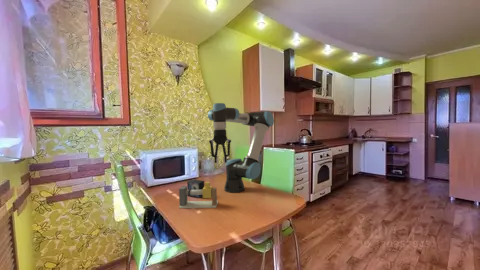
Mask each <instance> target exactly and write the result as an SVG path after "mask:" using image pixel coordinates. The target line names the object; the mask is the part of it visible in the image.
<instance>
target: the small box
mask: <svg viewBox="0 0 480 270" xmlns="http://www.w3.org/2000/svg"><path fill="white" fill-rule="evenodd" d="M186 182H187V183H186V186H187V190H189V189H191V190H203V188H204V186H205V180H199V179H191V180H187V181H186ZM189 197H192V198H197V199H200V198H203V195H191V196H189Z"/></svg>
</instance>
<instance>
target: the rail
mask: <svg viewBox="0 0 480 270" xmlns="http://www.w3.org/2000/svg"><path fill="white" fill-rule="evenodd" d="M217 190H218V189H217V187H212V189H211V195H212V197H211V200H193V201H191V200H190V201H189V200H188V197H190V196H191V195H203V190H191V189H189V190H188V188H187V185H183V186H182V185H181V187H180V188H179V189H178V195H179V205H178V209H216V208H217V206H218V203H219V200H218V196H217V194H218V193H217Z"/></svg>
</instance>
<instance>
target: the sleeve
mask: <svg viewBox="0 0 480 270" xmlns="http://www.w3.org/2000/svg"><path fill="white" fill-rule="evenodd" d="M211 189H213V186H212V185H211V182H210V181H204V188H203V197H202V199H212V195H211Z"/></svg>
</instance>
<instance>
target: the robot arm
mask: <svg viewBox="0 0 480 270" xmlns="http://www.w3.org/2000/svg"><path fill="white" fill-rule="evenodd" d="M212 106H213V107H212V109H210V110H209V111H207V118H208V119H209V121H212V122H213V123H212V124H213V129H214V130H213V138H212V139H210V140H208V142H209V144H210V145H209V146H210V153H211V154H210V155H211V157H213V158H214V163H215V164H216V169H219V165H220V164H219V156H218V153H219V147H220V145H221V148H222V151H223V158H222V161H223V162H222V163H223V165H222V166H223V169H225V171H226V174H225V175H226V181H225V184H224V191H225V192H226V193H235V194H236V193H240V192H243V191H245V184H244V181H243V179H248V180H255V179H257V178H258V177H259V176H260V174H261V168H262V166H261V163H260V161H259V158H260V154H261V152H262V151H261V150H262V147H263V143H264V140H265V136H266V132H267V131H269V129H270V127H272V126H274V124H275V123H274V122H275V119H274V114H273V113H272V112H271V111H269V110H268V111H266V110H264V111H253V112H243V113H241V112H240V111H239V109H238V108H234V107H227V106H226V103H224V102H216V103H213V105H212ZM227 122H228V123H237V124H241V125H243V126H249V127H254V131H253V134H252V138H251V141H250V145H249V147H248V151H247V154H246V156H244V157H243V159H242V158H232V159H227V158H228V157H229V156H230V155H231V154H230V153H231V143H232V140H231V139H230V138H228V136H227ZM226 142H227V150H226V146H225V144H226ZM214 143H215V150H214Z"/></svg>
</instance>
